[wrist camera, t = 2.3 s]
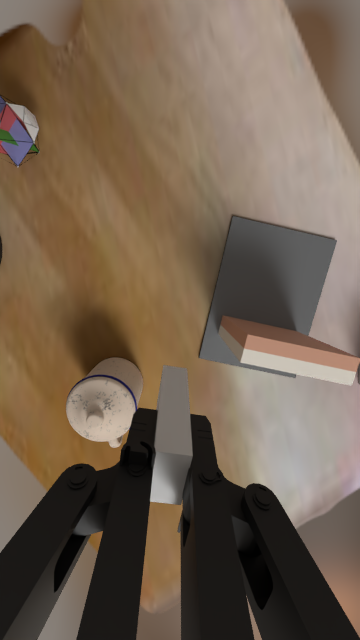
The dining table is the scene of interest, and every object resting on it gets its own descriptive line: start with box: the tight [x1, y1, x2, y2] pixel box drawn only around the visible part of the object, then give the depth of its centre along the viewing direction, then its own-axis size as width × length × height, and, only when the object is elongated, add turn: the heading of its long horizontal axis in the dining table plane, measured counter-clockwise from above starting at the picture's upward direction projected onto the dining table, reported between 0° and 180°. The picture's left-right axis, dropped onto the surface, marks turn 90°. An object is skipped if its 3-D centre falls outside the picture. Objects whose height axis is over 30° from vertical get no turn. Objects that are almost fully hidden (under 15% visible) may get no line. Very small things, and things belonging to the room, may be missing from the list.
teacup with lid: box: [66, 357, 143, 448], centre depth 36 cm, size 12×9×12 cm
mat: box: [199, 216, 337, 378], centre depth 39 cm, size 22×16×1 cm
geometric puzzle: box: [0, 95, 40, 167], centre depth 32 cm, size 7×7×8 cm
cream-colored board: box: [218, 315, 360, 386], centre depth 33 cm, size 3×12×14 cm, turn 78°
